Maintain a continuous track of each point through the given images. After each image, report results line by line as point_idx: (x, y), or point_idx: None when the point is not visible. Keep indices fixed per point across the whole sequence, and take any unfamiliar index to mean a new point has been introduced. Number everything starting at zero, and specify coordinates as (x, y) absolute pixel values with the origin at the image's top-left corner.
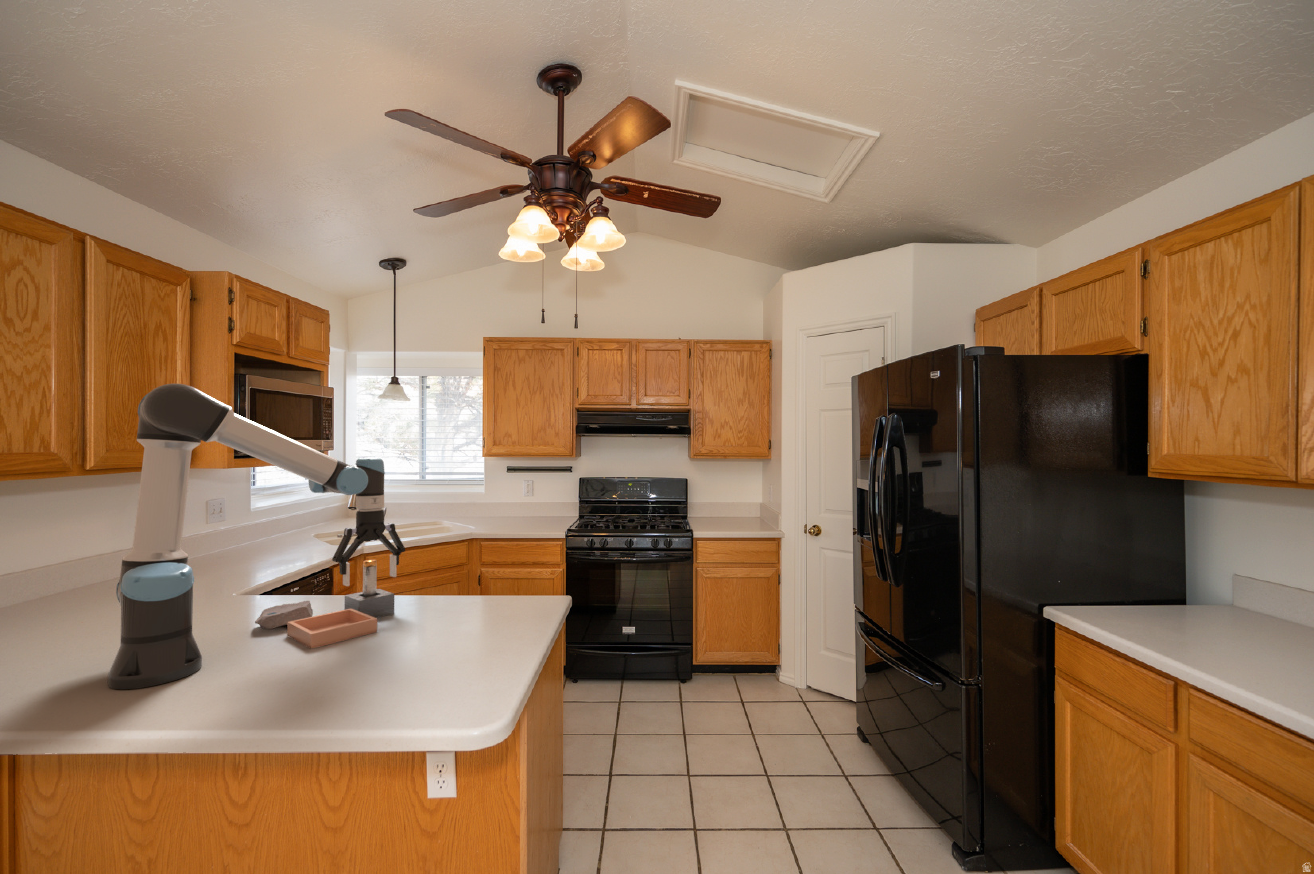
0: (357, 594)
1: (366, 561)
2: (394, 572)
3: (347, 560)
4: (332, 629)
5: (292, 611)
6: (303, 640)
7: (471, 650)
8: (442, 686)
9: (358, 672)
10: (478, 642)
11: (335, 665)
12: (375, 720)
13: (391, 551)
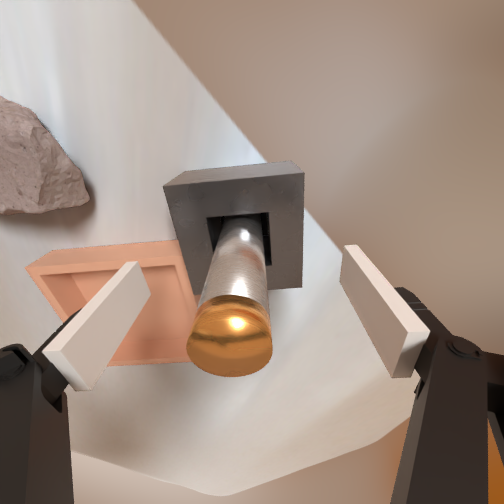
0: (206, 210)
1: (206, 352)
2: (349, 295)
3: (65, 409)
4: (130, 364)
5: (6, 212)
6: None
7: (277, 438)
8: (216, 466)
9: (162, 425)
10: (298, 429)
11: (141, 403)
12: (161, 473)
13: (430, 372)
